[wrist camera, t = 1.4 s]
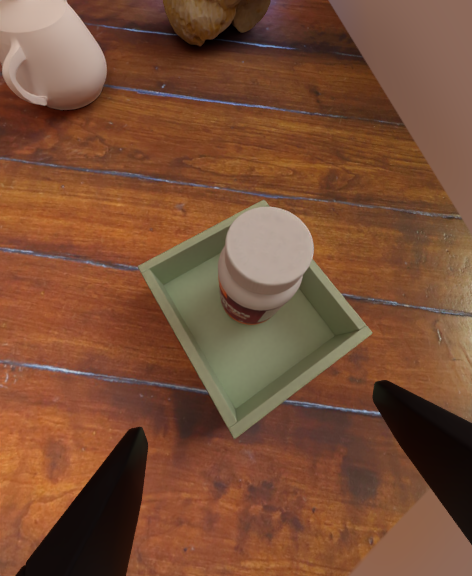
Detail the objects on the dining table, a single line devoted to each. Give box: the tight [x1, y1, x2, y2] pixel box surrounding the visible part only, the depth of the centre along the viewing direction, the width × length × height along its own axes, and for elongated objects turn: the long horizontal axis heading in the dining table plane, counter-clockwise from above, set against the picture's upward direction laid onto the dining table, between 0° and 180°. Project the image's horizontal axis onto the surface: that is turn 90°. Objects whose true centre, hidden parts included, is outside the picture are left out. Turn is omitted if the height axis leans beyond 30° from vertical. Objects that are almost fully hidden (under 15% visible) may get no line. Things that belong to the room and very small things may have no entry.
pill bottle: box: [218, 207, 314, 325], centre depth 18 cm, size 6×6×11 cm
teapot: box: [0, 0, 107, 111], centre depth 28 cm, size 20×12×10 cm, turn 176°
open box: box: [138, 200, 372, 439], centre depth 21 cm, size 16×14×5 cm
